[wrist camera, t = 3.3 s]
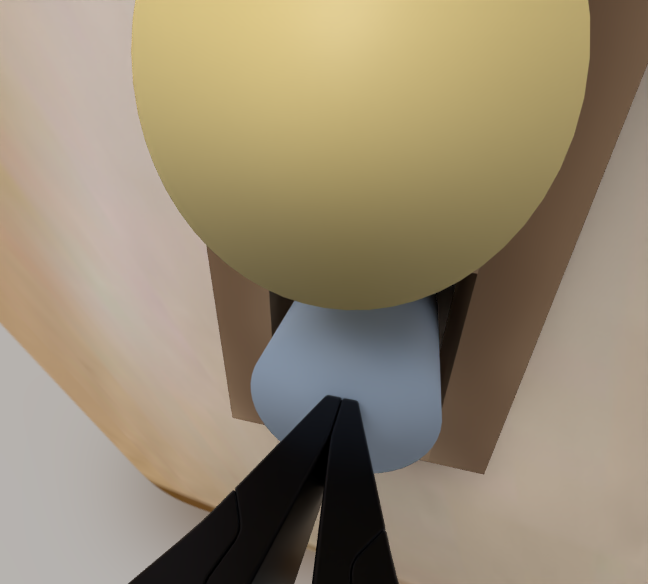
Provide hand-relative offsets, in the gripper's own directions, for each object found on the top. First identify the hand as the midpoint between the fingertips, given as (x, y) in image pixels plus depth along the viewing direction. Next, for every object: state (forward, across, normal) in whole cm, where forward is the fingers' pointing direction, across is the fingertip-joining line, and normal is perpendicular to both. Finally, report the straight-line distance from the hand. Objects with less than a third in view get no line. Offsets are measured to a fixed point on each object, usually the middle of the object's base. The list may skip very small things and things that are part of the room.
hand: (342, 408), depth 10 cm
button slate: (+5, 0, 0) cm, 5 cm away
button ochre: (+3, 0, -7) cm, 8 cm away
